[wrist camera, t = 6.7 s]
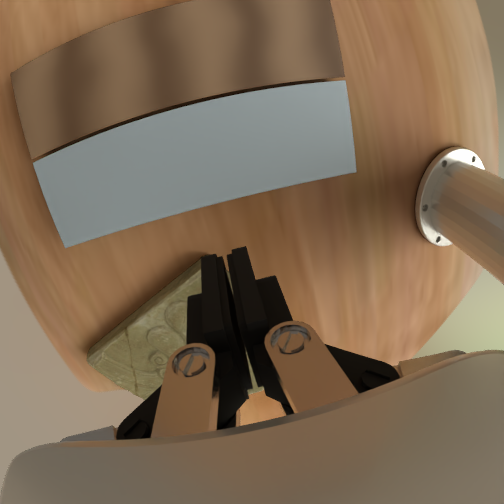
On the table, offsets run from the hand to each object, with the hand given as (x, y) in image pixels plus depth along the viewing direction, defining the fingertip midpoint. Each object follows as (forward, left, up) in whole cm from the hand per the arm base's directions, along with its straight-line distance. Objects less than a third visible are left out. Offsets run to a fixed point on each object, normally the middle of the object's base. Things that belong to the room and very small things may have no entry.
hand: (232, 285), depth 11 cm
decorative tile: (+7, +20, -17) cm, 27 cm away
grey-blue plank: (+1, -2, -16) cm, 16 cm away
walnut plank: (+1, -11, -16) cm, 19 cm away
